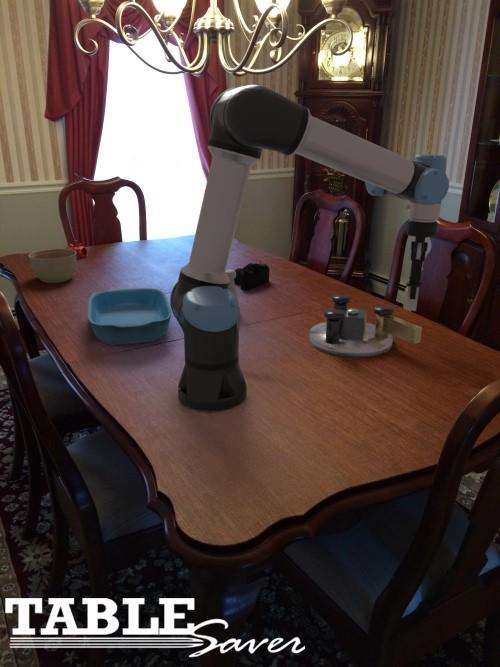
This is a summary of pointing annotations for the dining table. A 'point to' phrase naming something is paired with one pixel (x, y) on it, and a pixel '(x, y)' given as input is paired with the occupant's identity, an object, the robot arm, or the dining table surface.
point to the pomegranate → (78, 250)
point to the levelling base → (351, 343)
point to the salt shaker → (231, 280)
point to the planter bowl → (53, 264)
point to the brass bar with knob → (395, 326)
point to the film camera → (252, 276)
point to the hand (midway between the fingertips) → (410, 309)
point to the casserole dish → (129, 315)
